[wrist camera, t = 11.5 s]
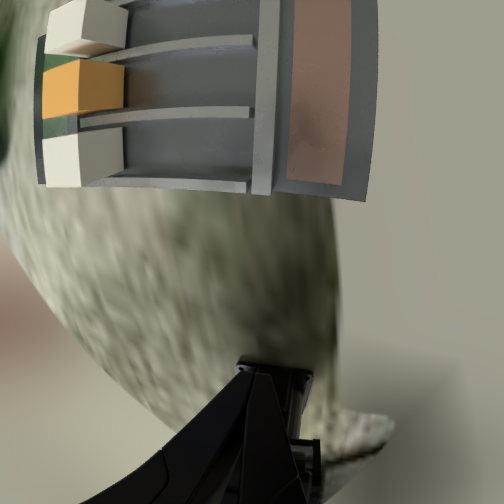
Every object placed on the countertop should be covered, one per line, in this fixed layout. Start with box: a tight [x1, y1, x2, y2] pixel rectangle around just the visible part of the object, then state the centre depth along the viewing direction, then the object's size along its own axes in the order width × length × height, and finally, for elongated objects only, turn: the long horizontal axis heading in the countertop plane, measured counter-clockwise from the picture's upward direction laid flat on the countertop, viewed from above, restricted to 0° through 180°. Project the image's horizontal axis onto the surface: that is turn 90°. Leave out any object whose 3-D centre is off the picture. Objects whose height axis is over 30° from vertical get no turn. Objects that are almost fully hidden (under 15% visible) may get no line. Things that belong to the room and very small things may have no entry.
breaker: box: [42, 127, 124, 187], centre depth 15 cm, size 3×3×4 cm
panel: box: [34, 0, 378, 202], centre depth 15 cm, size 13×24×2 cm, turn 88°
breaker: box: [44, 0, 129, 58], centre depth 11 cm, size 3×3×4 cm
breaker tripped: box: [42, 59, 125, 119], centre depth 13 cm, size 3×3×4 cm
